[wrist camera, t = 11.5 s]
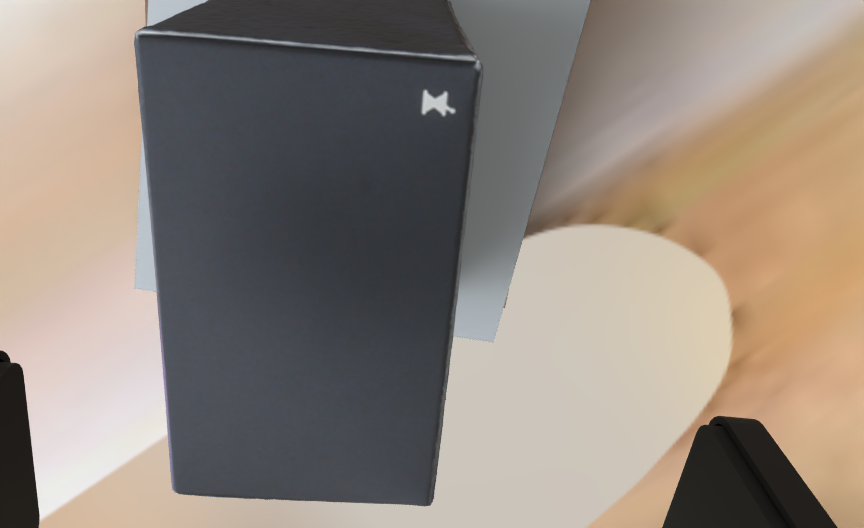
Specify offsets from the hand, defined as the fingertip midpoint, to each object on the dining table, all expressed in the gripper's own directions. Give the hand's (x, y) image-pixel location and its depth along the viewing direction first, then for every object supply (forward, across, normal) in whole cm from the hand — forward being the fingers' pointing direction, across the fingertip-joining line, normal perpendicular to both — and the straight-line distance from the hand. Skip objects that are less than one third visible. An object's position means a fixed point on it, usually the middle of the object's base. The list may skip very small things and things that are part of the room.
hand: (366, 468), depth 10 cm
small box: (+15, +1, 0) cm, 15 cm away
